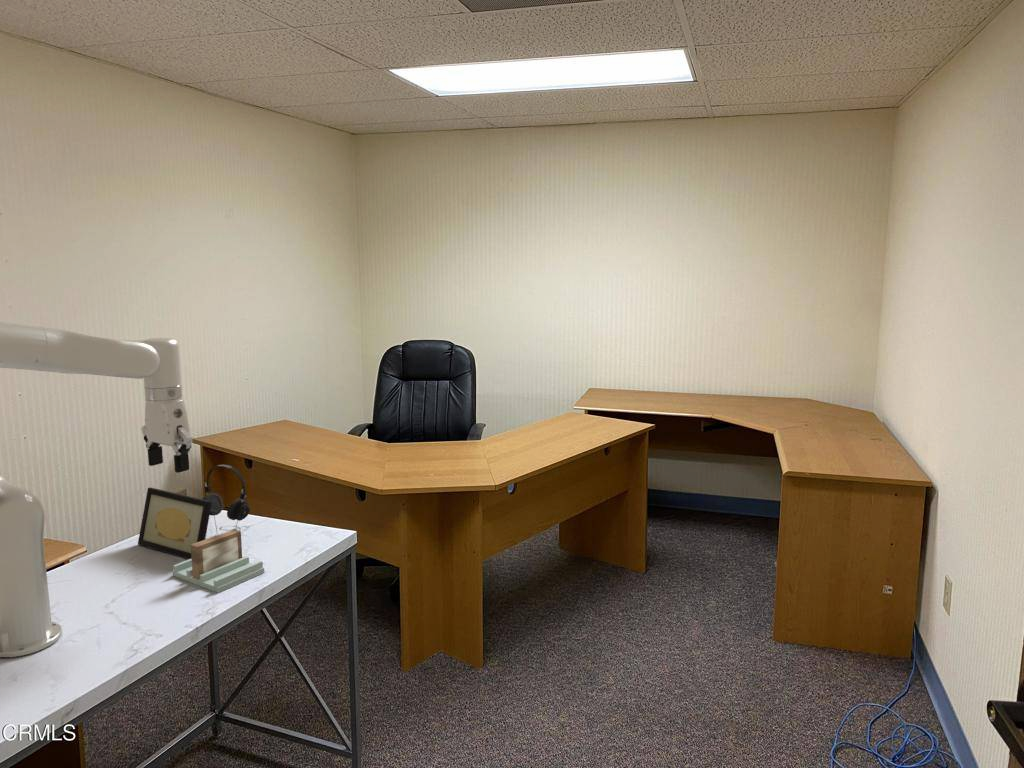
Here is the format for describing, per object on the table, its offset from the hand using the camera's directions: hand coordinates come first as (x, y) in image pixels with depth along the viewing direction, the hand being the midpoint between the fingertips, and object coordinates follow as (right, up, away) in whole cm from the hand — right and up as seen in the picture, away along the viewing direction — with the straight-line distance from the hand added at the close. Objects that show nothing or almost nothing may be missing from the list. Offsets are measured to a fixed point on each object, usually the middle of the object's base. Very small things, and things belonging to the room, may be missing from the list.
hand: (168, 467), depth 167 cm
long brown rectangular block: (+7, -26, +11) cm, 29 cm away
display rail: (+7, -27, +11) cm, 30 cm away
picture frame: (-9, -24, +27) cm, 37 cm away
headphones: (+1, -23, +37) cm, 43 cm away
